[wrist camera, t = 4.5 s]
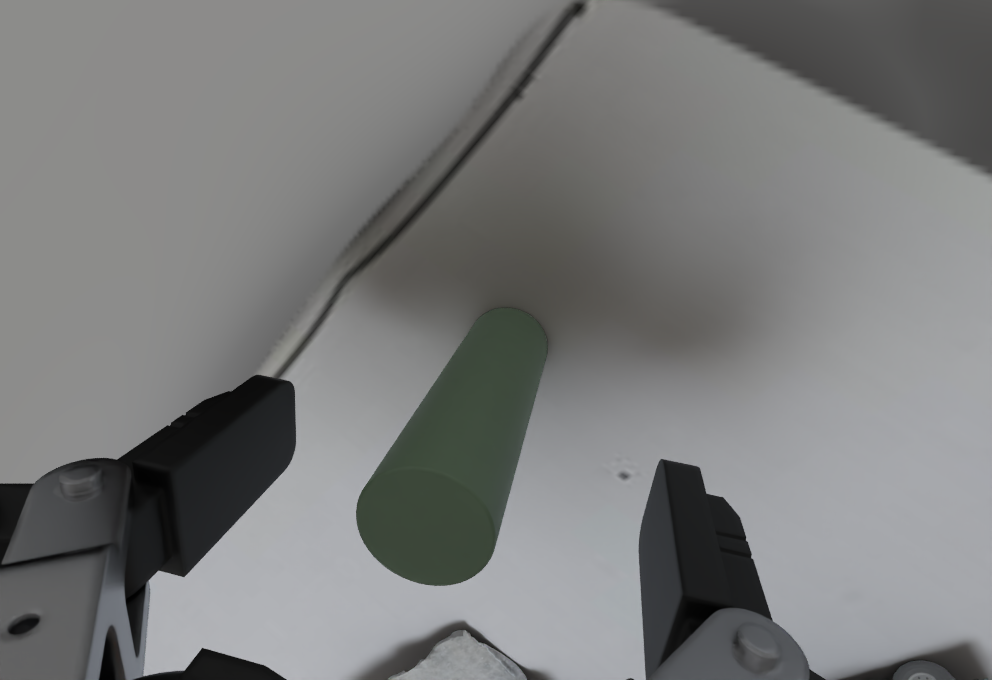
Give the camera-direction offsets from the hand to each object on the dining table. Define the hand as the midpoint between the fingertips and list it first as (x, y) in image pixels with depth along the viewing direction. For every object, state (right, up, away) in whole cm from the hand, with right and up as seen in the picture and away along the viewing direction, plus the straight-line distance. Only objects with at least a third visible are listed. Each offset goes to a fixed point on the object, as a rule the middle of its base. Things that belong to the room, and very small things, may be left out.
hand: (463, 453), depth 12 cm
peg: (+1, +2, +6) cm, 7 cm away
